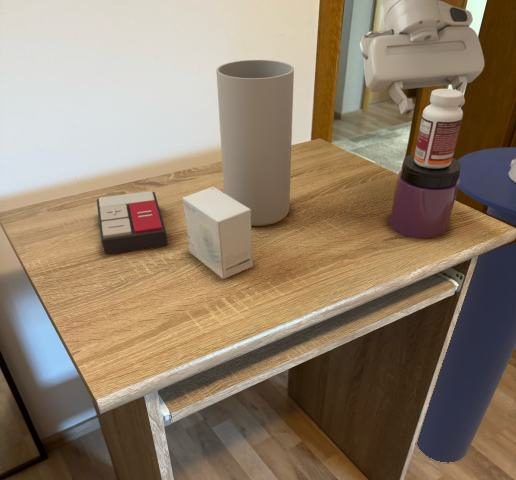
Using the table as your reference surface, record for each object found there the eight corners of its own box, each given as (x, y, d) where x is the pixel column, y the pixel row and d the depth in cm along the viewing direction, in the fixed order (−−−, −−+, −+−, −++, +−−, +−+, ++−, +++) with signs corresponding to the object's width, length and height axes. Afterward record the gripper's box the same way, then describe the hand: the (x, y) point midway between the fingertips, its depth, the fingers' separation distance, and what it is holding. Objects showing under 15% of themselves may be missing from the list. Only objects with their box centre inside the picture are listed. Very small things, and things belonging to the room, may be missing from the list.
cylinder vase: (266, 193, 101) (266, 56, 85) (301, 216, 94) (309, 71, 77) (213, 208, 97) (202, 66, 80) (246, 234, 89) (241, 83, 72)
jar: (424, 208, 96) (437, 151, 88) (458, 232, 88) (476, 173, 81) (378, 217, 93) (388, 160, 86) (410, 243, 86) (423, 183, 78)
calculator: (99, 236, 81) (95, 194, 91) (105, 258, 84) (100, 215, 94) (165, 227, 83) (153, 187, 94) (168, 248, 86) (157, 207, 97)
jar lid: (435, 162, 89) (438, 149, 87) (469, 183, 82) (473, 169, 81) (390, 170, 87) (392, 157, 85) (421, 192, 80) (424, 177, 78)
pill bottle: (455, 160, 84) (473, 90, 76) (444, 173, 80) (462, 100, 72) (419, 153, 86) (434, 85, 79) (407, 165, 82) (421, 94, 75)
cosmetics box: (187, 253, 84) (180, 196, 77) (218, 241, 87) (214, 185, 80) (221, 280, 78) (217, 220, 71) (254, 266, 80) (252, 207, 73)
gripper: (365, 18, 75) (384, 104, 75) (480, 11, 79) (498, 92, 79) (350, 46, 81) (367, 125, 81) (457, 38, 85) (474, 113, 85)
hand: (433, 109), depth 80 cm, fingers open, 8 cm apart
